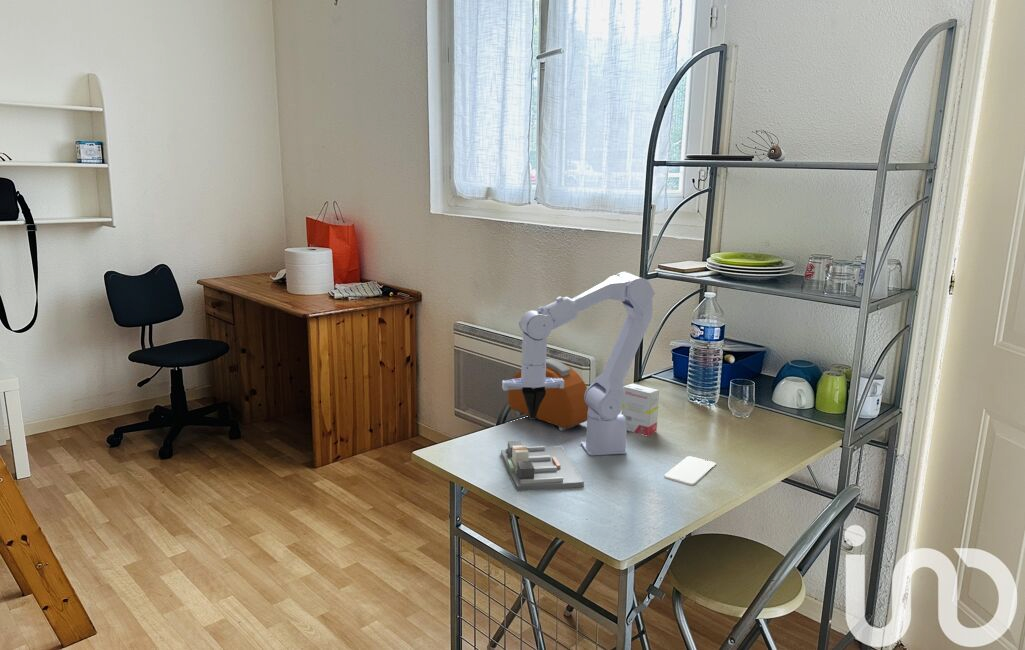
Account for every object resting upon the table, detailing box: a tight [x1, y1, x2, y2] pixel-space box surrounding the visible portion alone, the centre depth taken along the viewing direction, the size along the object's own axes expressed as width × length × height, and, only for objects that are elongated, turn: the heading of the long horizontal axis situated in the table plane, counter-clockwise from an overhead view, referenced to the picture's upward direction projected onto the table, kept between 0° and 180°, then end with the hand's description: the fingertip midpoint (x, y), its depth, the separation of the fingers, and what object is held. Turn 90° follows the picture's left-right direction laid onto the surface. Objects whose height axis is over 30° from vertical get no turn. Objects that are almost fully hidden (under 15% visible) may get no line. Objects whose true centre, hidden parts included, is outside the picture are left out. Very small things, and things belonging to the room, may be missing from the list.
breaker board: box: [500, 440, 585, 492], centre depth 174 cm, size 15×20×4 cm
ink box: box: [621, 383, 660, 437], centre depth 199 cm, size 9×5×12 cm, turn 51°
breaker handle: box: [512, 444, 529, 468], centre depth 173 cm, size 3×4×4 cm
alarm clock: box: [507, 358, 588, 431], centre depth 205 cm, size 23×9×17 cm, turn 46°
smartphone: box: [663, 455, 717, 486], centre depth 177 cm, size 7×1×15 cm
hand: (532, 417), depth 180 cm, fingers closed
